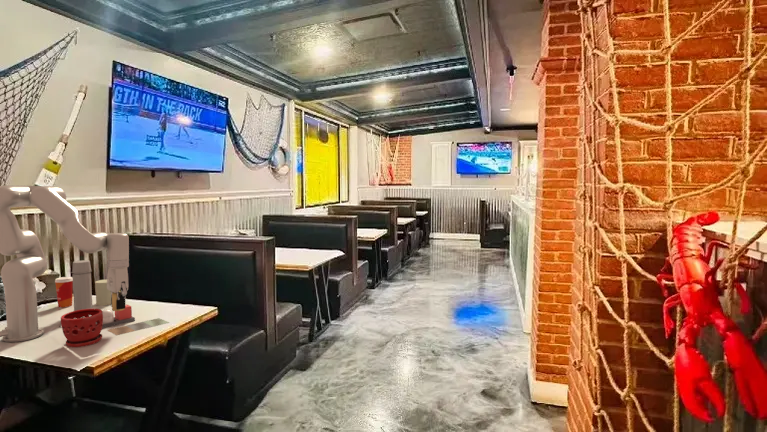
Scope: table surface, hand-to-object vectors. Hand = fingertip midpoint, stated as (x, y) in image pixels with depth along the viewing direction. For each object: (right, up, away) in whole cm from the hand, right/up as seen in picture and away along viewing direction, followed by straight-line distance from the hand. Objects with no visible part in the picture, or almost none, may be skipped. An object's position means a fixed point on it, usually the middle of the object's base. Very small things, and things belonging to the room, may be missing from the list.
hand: (118, 307), depth 180 cm
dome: (-10, -9, +8) cm, 16 cm away
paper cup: (-50, -8, +39) cm, 63 cm away
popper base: (-8, -10, +11) cm, 16 cm away
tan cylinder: (0, -1, 0) cm, 1 cm away
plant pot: (-6, -12, -13) cm, 18 cm away
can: (-33, -7, +44) cm, 55 cm away
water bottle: (-31, -9, +25) cm, 41 cm away
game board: (+5, -10, +6) cm, 13 cm away
